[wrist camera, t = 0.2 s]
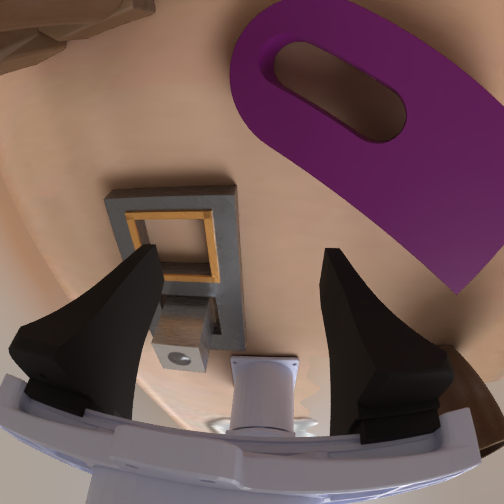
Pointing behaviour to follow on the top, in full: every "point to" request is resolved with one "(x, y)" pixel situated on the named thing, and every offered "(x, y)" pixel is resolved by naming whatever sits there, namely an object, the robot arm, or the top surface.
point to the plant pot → (473, 403)
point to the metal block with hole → (185, 333)
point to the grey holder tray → (190, 274)
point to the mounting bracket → (392, 151)
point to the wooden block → (57, 26)
